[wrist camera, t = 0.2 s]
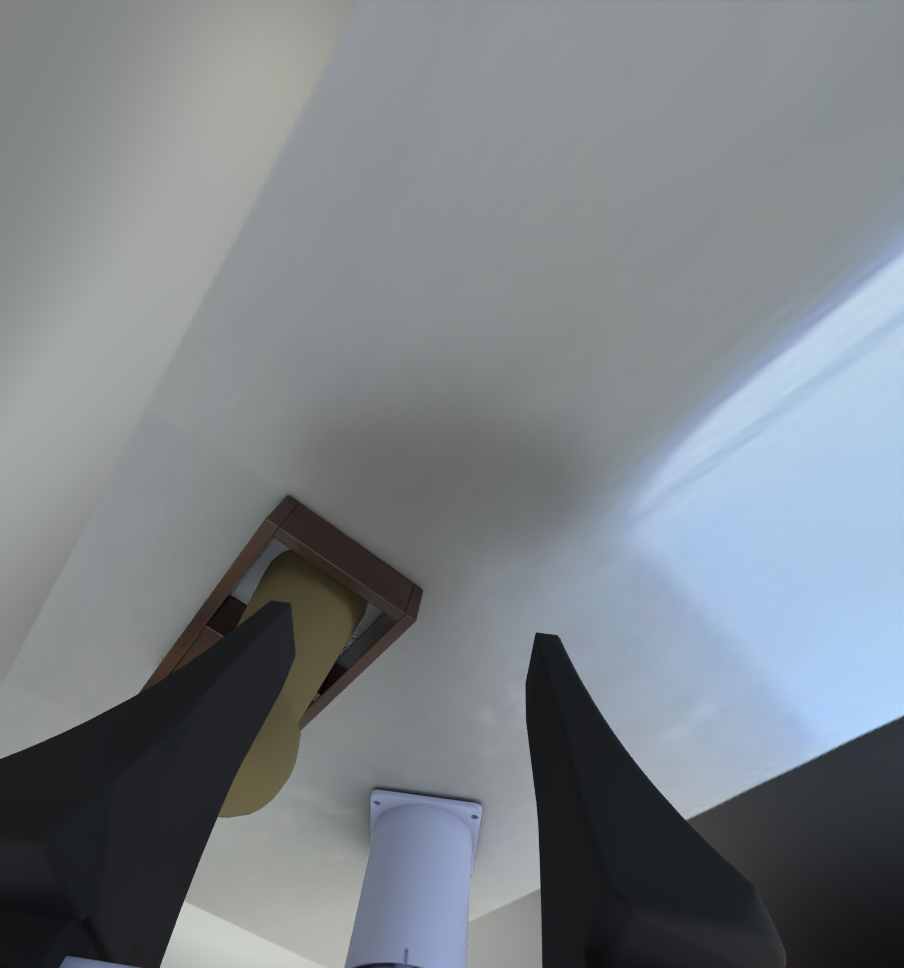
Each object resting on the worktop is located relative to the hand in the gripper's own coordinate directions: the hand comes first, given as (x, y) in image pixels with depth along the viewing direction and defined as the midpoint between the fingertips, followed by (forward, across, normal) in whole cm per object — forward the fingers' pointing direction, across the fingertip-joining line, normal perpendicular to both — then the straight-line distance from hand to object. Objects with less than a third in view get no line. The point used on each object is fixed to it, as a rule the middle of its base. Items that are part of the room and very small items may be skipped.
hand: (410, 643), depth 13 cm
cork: (+10, +7, +7) cm, 14 cm away
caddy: (+10, +9, +10) cm, 17 cm away
